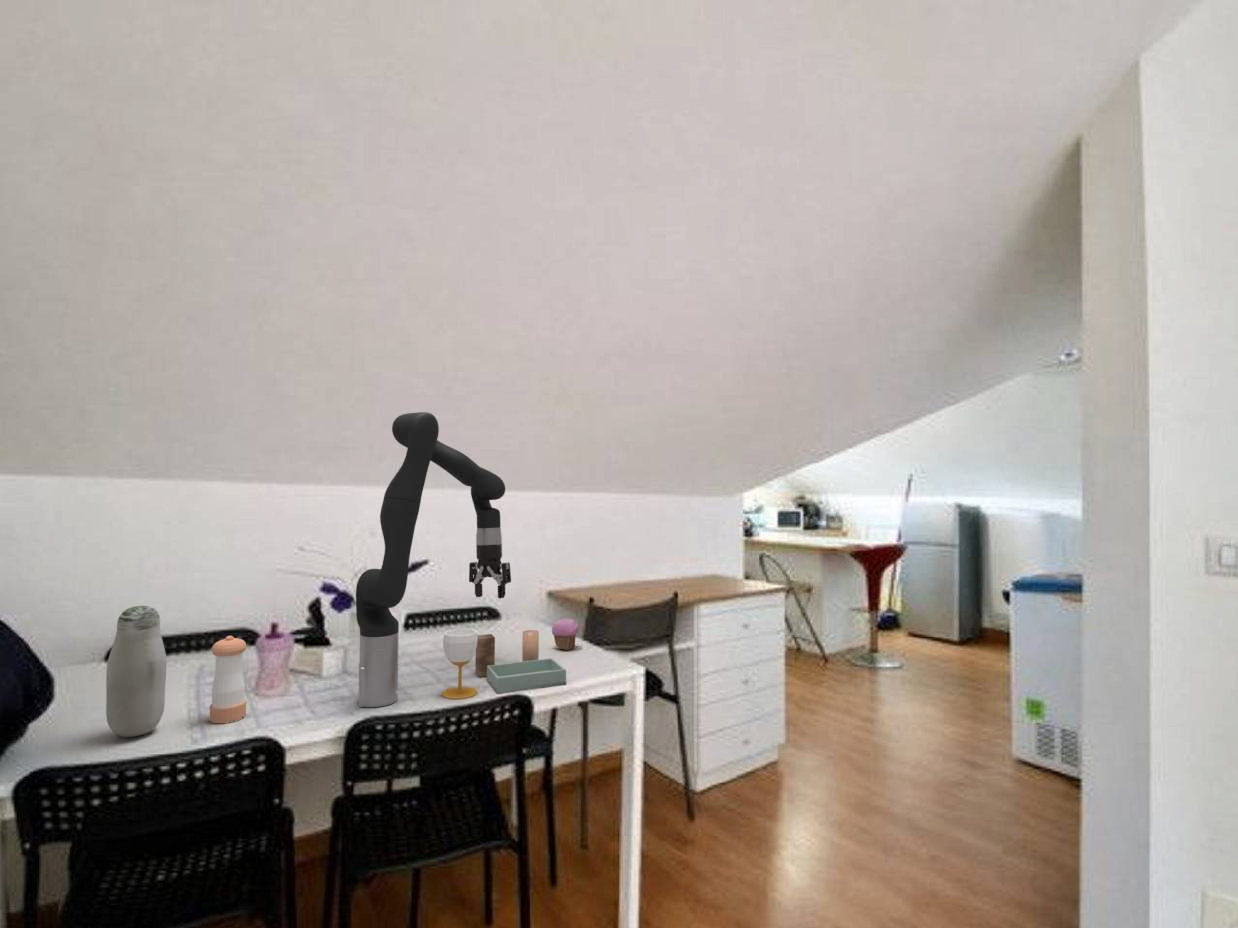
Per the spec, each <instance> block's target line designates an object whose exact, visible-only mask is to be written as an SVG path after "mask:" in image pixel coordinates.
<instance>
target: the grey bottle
mask: <svg viewBox="0 0 1238 928" xmlns="http://www.w3.org/2000/svg"><path fill="white" fill-rule="evenodd" d="M116 622H117V623H116V632H115V637H114V642H113V645H112V648H111V650H110V653H109V656H108V659H107V664H106V679H105V681H106V682H105V684H106V686H105V690H106V695H105V696H106V697H105V700H106V703H105V705H106V706H105V715H106V716H105V718H106V721H107V725H108V727H109V729H110V730H111V732H112V733H114V734H116V735H117V736H120V737H124V738H132V737H133V738H134V737H138V736H143V735H145V734H148V733H149V732H151V731H153V730H154V729H155V728H156V727H157V726H158V724H159V723H160V721H161V719H162V717H163V715H164V711H165V703H166V681H167V655H166V648H165V645H164V640H163V638H162V633H161V618H160V614H159V612H158V610H157V609H155V608H154V607H152V606H148V605H136V606H131V607H129V608H126V609H125V610H123V611H122V612H121V614H120V615H119V617H118V619H117V621H116Z"/></svg>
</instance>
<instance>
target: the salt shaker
mask: <svg viewBox="0 0 1238 928" xmlns="http://www.w3.org/2000/svg"><path fill="white" fill-rule="evenodd" d="M246 649H247V643H246V641H245V640H243V639H241V638H236V637H234V636H232V635H228V636H226V637H225V638H224V639H221V640H218V641H216V642H215V643H213V645H212V647H211V652H212V655H213V656H215V663H214V664H215V665H214V667H215V668H214V677H213V682H212V687H211V688H212V689H211V704H210V706H209V722H210V721H211V722H213V723H212V724H214V723H225V724H228V723H227V722H231V723H234V722H233V721H235V722H237V721H236V720H238V721H240V720H239V719H241V718H242V717H244V716H245V715H246V716H247V700H246V698H245V691H246V690H245V689H246V687H245V686H246V685H245V679H244V672H243V654H244V652H245V651H246ZM246 716H245V717H246ZM245 717H244V718H245ZM241 720H242V719H241ZM211 722H210V723H211Z"/></svg>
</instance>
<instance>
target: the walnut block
mask: <svg viewBox="0 0 1238 928" xmlns="http://www.w3.org/2000/svg"><path fill="white" fill-rule="evenodd" d="M477 636H478V640H477V647H476V651H475V673H476V674H475V675H476V677H477V678H478V679H483V677H484V678H487V666H489V665H496V664H495V663H496V660H495V659H496V658H495V657H496V651H495V650H496V637H495V636H494V635H493V634H492V633H489V634H487V633H486V634H479V635H478V634H477Z"/></svg>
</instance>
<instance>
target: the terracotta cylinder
mask: <svg viewBox="0 0 1238 928" xmlns="http://www.w3.org/2000/svg"><path fill="white" fill-rule="evenodd" d="M521 635H522V640H521V641H522V643H521V644H522V646H521V653H522V655H521V656H522V657H521V662H523V661H532V660H539V654H540V653H539V652H540V651H539V649H540V647H539V646H540V644H539V643H540V636H539V635H540V633H539V631H538V630H535V629H530V630H528V629H527V630H524V631H522V634H521Z"/></svg>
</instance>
